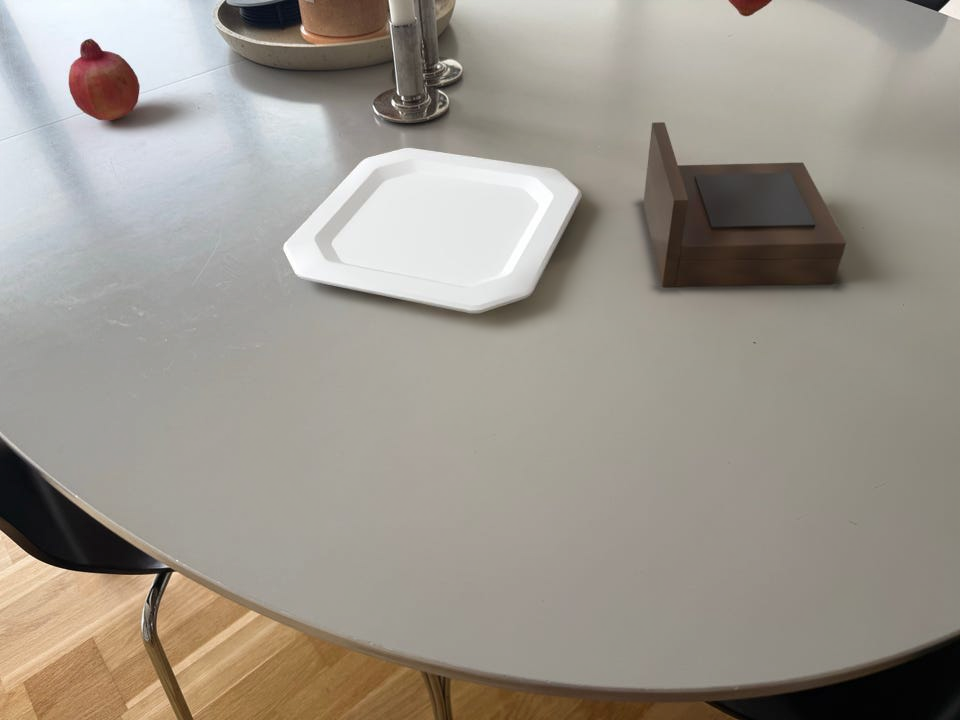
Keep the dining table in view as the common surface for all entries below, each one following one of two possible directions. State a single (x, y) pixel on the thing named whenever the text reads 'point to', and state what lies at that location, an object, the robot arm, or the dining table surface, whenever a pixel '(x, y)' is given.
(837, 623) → the dining table surface
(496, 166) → the plate
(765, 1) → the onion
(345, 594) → the dining table surface
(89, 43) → the fruit
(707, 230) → the wooden bookend stand
